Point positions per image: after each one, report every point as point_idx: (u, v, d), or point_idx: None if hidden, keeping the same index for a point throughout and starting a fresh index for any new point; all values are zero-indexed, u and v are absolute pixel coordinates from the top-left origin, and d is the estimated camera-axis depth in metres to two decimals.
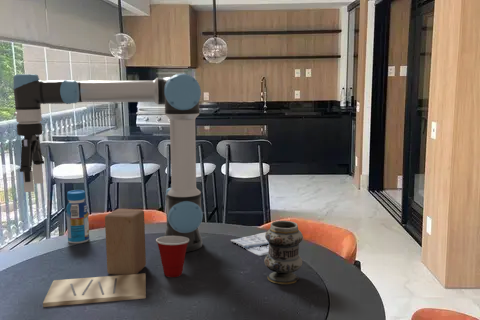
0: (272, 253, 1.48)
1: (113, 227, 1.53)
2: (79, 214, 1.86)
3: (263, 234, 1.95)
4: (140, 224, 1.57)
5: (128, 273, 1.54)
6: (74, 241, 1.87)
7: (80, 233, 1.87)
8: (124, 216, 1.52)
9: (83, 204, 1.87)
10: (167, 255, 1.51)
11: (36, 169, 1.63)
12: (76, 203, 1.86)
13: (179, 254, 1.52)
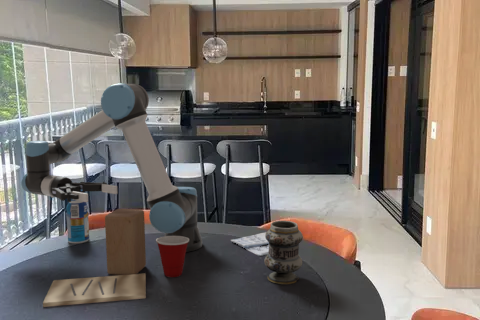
0: (272, 253, 1.48)
1: (113, 227, 1.53)
2: (79, 214, 1.86)
3: (263, 234, 1.95)
4: (140, 224, 1.57)
5: (128, 273, 1.54)
6: (74, 241, 1.87)
7: (80, 233, 1.87)
8: (124, 216, 1.52)
9: (83, 204, 1.87)
10: (167, 255, 1.51)
11: (105, 189, 1.68)
12: (76, 203, 1.86)
13: (179, 254, 1.52)
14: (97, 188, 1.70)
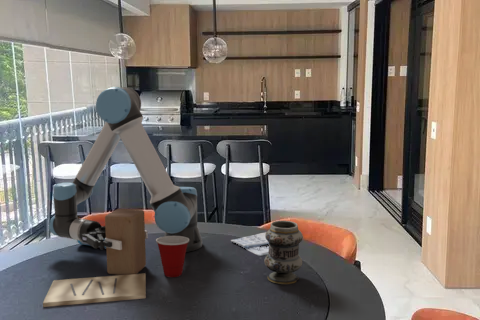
0: (272, 253, 1.48)
1: (113, 227, 1.53)
2: None
3: (263, 234, 1.95)
4: (140, 224, 1.57)
5: (128, 273, 1.54)
6: (81, 244, 1.85)
7: None
8: (124, 216, 1.52)
9: None
10: (167, 255, 1.51)
11: None
12: None
13: (179, 254, 1.52)
14: None
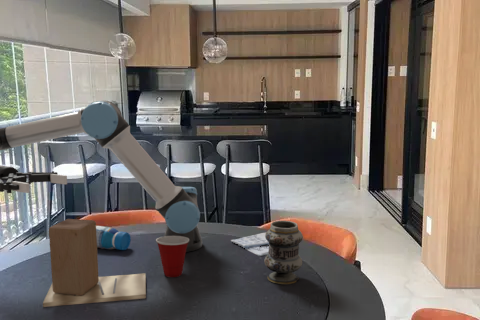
0: (272, 253, 1.48)
1: (58, 240, 1.35)
2: None
3: (263, 234, 1.95)
4: (89, 236, 1.39)
5: (75, 292, 1.37)
6: None
7: None
8: (70, 228, 1.35)
9: None
10: (167, 255, 1.51)
11: (54, 179, 1.50)
12: None
13: (179, 254, 1.52)
14: (45, 178, 1.52)
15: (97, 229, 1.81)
